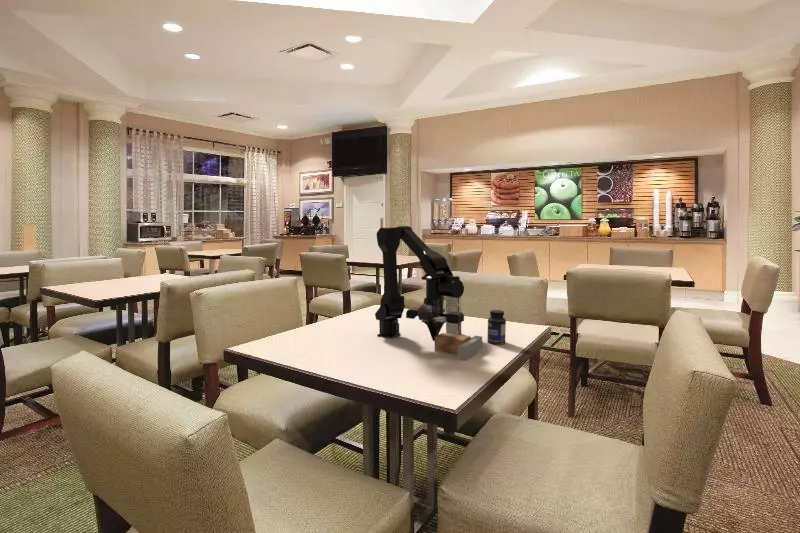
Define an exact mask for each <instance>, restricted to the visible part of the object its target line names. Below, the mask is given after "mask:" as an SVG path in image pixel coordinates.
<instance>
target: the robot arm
mask: <svg viewBox="0 0 800 533" xmlns="http://www.w3.org/2000/svg"><path fill="white" fill-rule="evenodd" d="M376 241H377V246H378V248H379V249H380V251H381V252H382V267H383V289H384V292H383V294H382V296H381V298H380V305H379V306H380V307H379V308H378V309H377V310H376V312H375V313H374V317H375V320H376V321H378V322H379V326H378V328H379V333H378V334H377V337H381V338H382V337H383V338H391V339H393V338H395V337H397V336H399V335H401V332H400V323H399V319H402V317H403V313H404V311H405V307H406V305H405V296H404V295H401V293H400V292H399V286H398V285H399V281H398V261H397V259H398V258H397V251H398V249H399V247H400V244H401V241H402V242H403V243H404V244H405V245H406V246H407V247H408V248H409V249H410V251H411V252H412V253H413V254H414V255H415V256H416V257H417V258H418V260H419V265H420V267H421V268H422V270H423V272H424V273H425V274H424V275H423V276H421V279H420V280H421V281H422V280H423V281H425V289H426V290H425V297H423V298H424V299H423V304H421V305H420V307H416V306H415V307H411V308H409V309H407V310H406V313H405V318H406V319H410V320H415V319H416V317H418V320H420V321H421V323H424V324H425V325H426V327H427V328H428V332H429V334H430V336H431V340H432V341H433V342H435V336H437V335H439V334H440V332H441V330H442V328H443V326H444V325H445V324H446V322H448V323H453V324H458V323H460V322H461V323H462V322H464V321H465V315H464V313H463V311H461V312H454V311H452V312H450V313H448V314H446V308H444V301H446V296H447V297H453V298H460V297H461V298H462V296H463V294H464V290H465V286H464V283H463V282H462V280H460V279H461V278H460V275H459V276H458V275H454V274H453V272H452V270H451V268H450V267H449V263H448V262H447V261H448V260H447V259H446V257H445V256H443V255H442V254H440V253H439V252H437V251H435V250H433V249H431V248H429V246H428V245H427V244H426V243H425V242H424V241H423V240H422V239H421V238H420V237H419V236H418V235H417V233H415V232H414V230H413V228H412V227H411V226H409V225H400V226H396V227H393V226H391V227H380V228H379V229H378V230H377V231H376Z"/></svg>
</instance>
